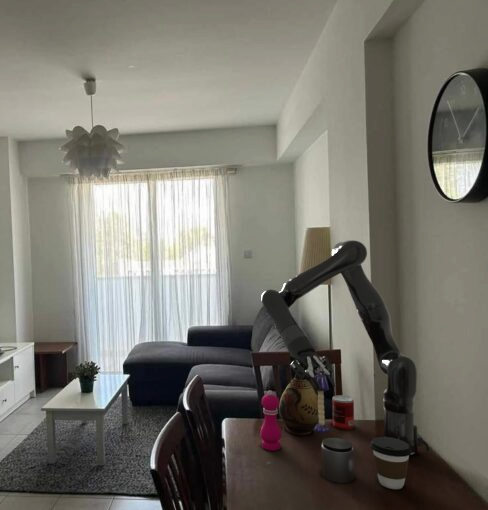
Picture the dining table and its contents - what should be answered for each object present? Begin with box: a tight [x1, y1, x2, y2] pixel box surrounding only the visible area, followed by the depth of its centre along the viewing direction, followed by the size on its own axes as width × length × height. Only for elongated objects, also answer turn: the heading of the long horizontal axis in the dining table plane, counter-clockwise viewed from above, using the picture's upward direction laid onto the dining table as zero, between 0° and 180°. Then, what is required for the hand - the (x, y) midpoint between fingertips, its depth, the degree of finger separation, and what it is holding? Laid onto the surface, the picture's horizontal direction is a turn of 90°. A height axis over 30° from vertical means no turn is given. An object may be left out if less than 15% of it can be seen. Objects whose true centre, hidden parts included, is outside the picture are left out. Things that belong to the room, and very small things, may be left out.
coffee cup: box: [369, 436, 412, 490], centre depth 136 cm, size 11×11×12 cm
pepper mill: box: [259, 389, 282, 451], centre depth 164 cm, size 7×7×20 cm
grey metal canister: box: [321, 437, 355, 484], centre depth 142 cm, size 9×9×10 cm
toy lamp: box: [313, 374, 330, 434], centre depth 140 cm, size 5×5×17 cm
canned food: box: [332, 394, 355, 430], centre depth 182 cm, size 8×8×11 cm
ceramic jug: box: [278, 354, 319, 436], centre depth 179 cm, size 17×15×30 cm
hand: (325, 388), depth 139 cm, fingers closed on toy lamp, 4 cm apart
